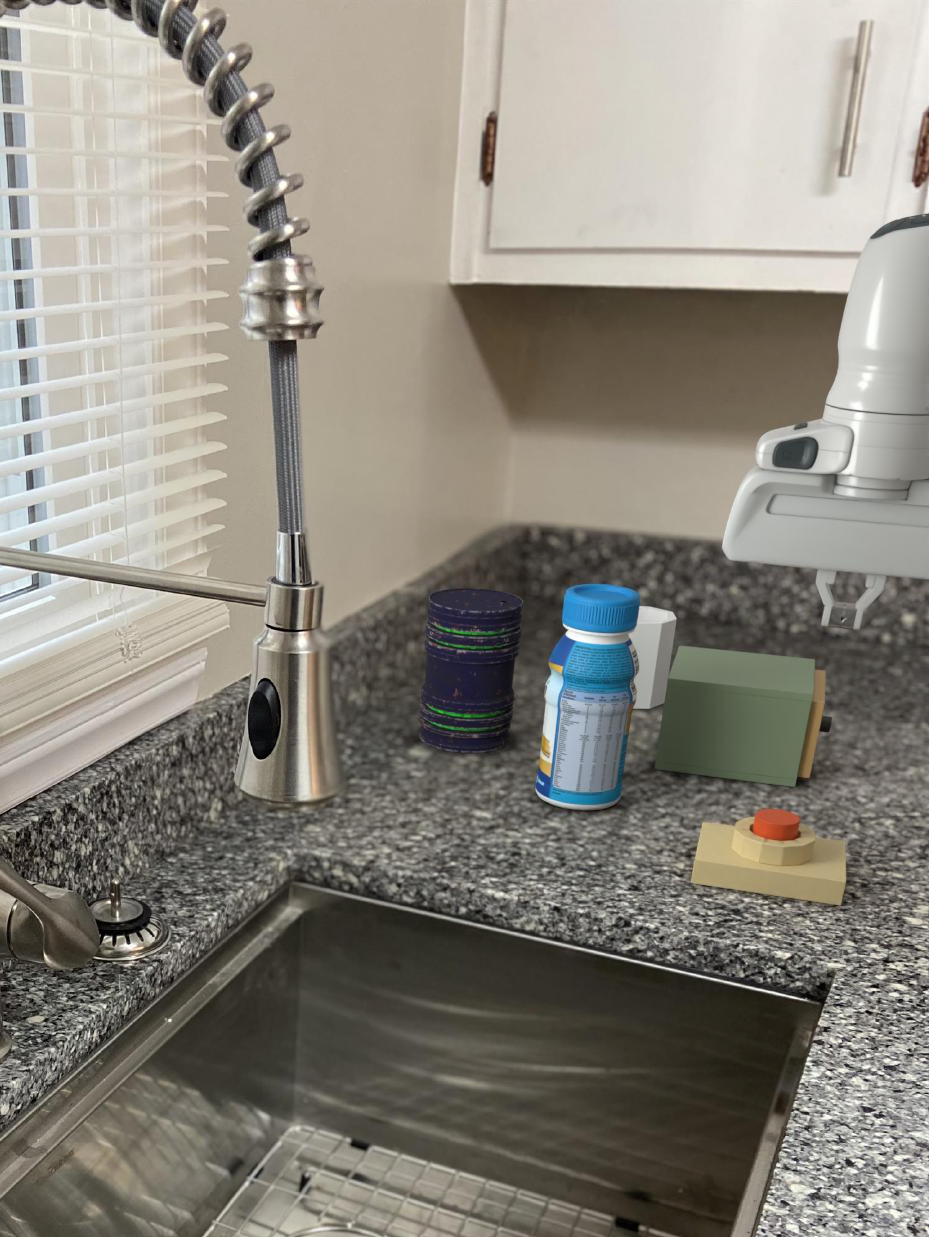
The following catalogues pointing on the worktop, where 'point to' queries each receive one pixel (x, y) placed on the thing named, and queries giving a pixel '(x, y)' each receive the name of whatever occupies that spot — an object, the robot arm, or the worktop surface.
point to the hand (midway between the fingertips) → (840, 626)
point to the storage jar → (469, 669)
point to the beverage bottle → (589, 699)
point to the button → (776, 825)
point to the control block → (771, 863)
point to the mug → (653, 654)
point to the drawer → (814, 725)
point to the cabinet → (736, 715)
